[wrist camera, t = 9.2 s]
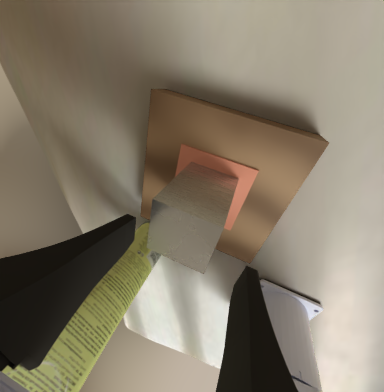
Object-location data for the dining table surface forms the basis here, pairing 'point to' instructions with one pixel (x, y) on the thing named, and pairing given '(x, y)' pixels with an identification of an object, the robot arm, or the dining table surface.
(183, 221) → the steel column
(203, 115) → the board
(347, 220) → the dining table surface
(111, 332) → the tube
